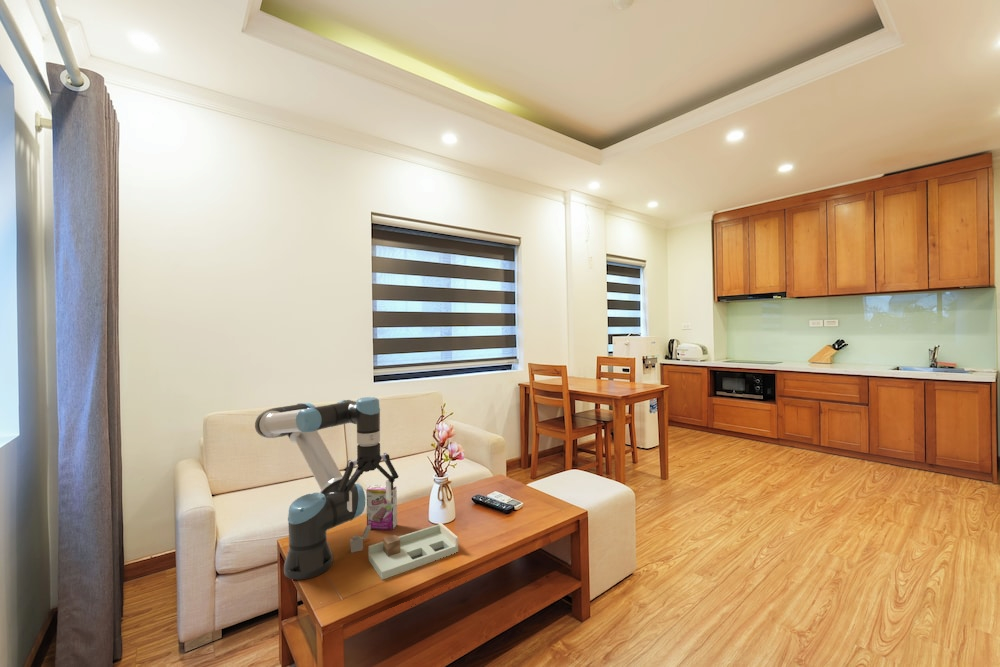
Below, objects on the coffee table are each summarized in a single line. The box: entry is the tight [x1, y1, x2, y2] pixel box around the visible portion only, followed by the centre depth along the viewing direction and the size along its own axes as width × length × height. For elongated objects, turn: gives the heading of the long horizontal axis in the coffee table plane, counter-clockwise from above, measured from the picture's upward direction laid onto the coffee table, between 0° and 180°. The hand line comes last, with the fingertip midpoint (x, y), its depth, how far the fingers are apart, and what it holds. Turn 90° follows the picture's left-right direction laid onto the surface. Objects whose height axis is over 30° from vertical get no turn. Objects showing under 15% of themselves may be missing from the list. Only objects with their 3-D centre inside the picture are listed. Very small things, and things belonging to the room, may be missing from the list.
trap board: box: [367, 522, 459, 581], centre depth 150 cm, size 28×14×6 cm, turn 124°
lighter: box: [349, 525, 372, 554], centre depth 155 cm, size 7×2×8 cm, turn 117°
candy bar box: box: [365, 484, 398, 531], centre depth 171 cm, size 11×5×16 cm, turn 84°
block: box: [382, 534, 400, 557], centre depth 148 cm, size 4×4×4 cm
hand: (369, 504), depth 144 cm, fingers open, 13 cm apart
